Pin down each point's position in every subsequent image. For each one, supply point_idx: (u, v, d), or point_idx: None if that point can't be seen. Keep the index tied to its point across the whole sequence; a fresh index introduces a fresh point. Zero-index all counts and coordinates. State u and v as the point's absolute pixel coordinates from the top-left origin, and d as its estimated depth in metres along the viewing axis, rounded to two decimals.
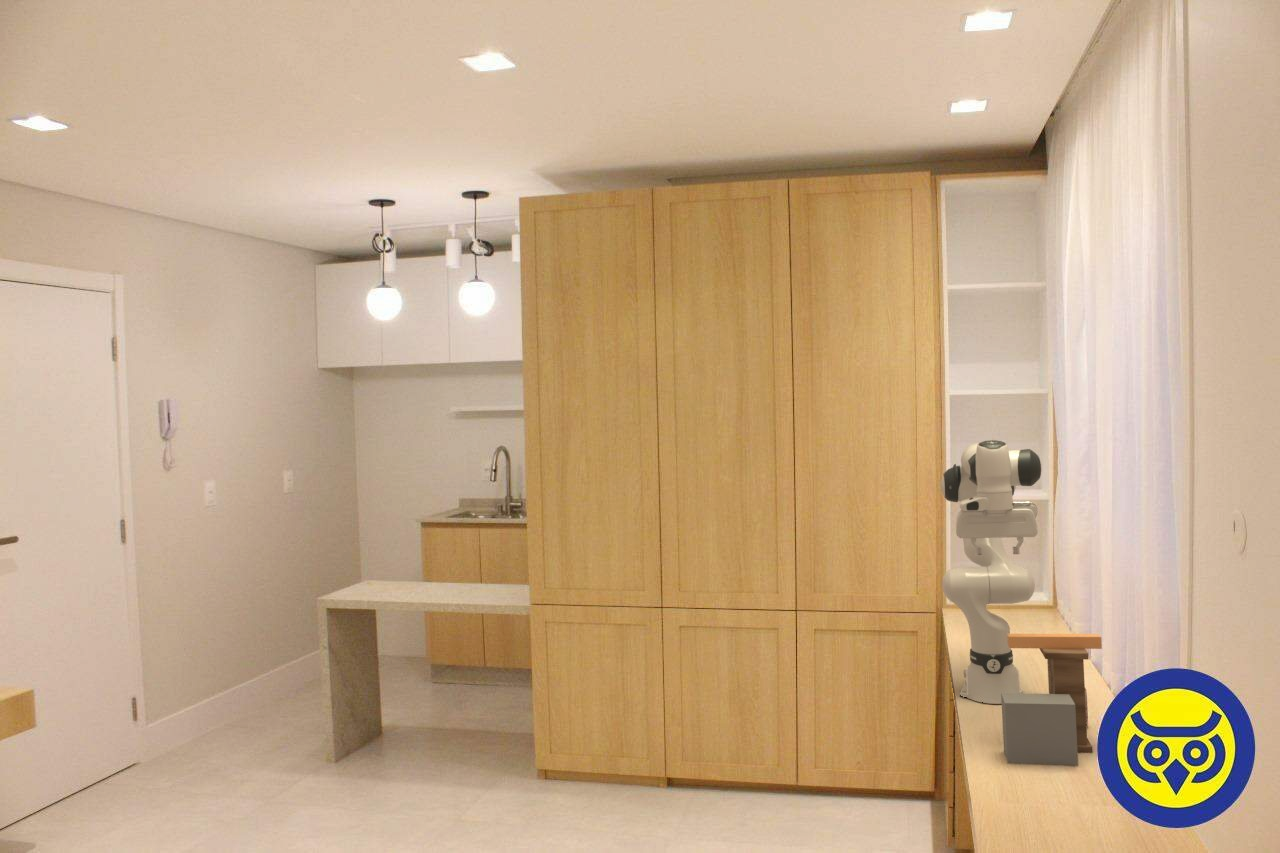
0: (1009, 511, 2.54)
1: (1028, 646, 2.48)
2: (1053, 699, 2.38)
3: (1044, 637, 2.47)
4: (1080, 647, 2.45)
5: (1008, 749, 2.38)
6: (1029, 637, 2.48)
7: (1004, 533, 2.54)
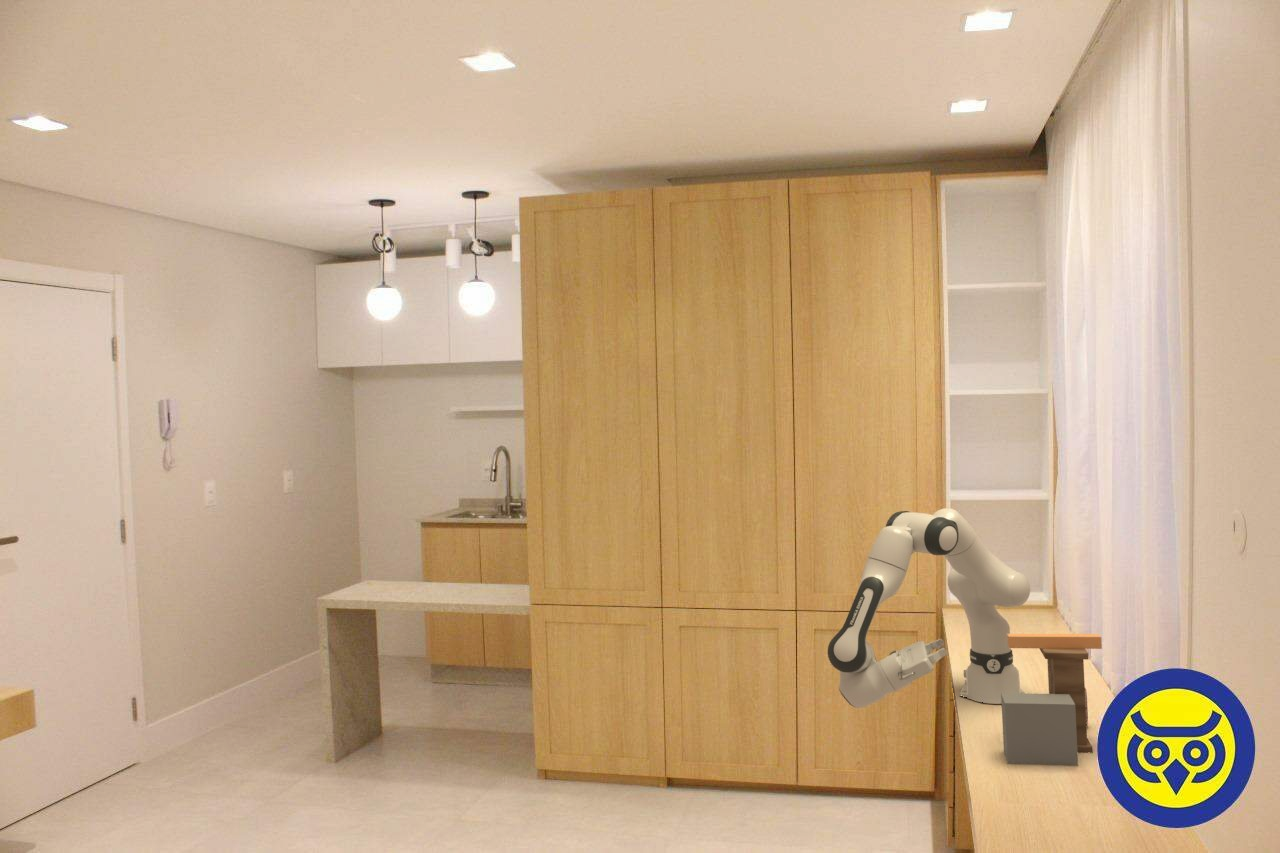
0: None
1: (1028, 646, 2.48)
2: (1053, 699, 2.38)
3: (1044, 637, 2.47)
4: (1080, 647, 2.45)
5: (1008, 749, 2.38)
6: (1029, 637, 2.48)
7: None
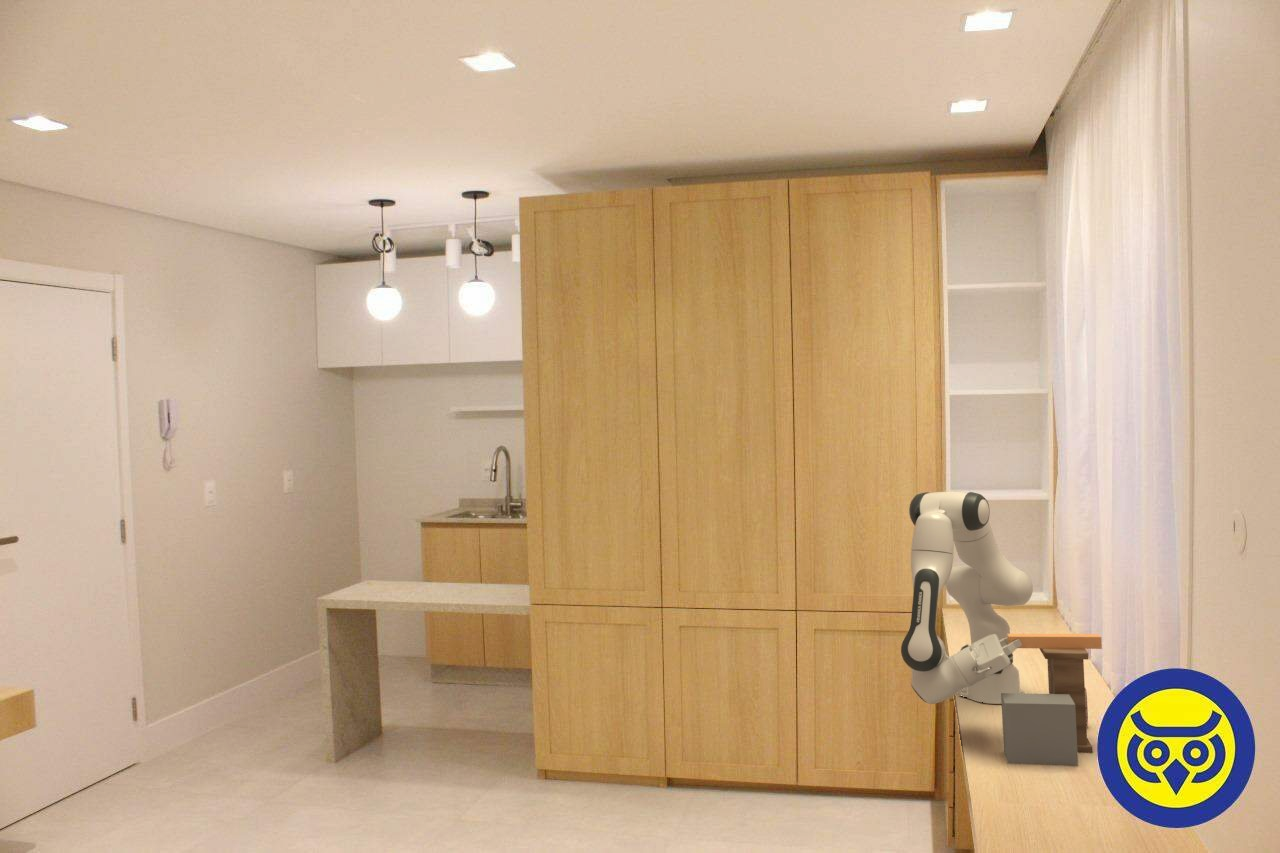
0: None
1: (1028, 646, 2.48)
2: (1053, 699, 2.38)
3: (1044, 637, 2.47)
4: (1080, 647, 2.45)
5: (1008, 749, 2.38)
6: (1029, 637, 2.48)
7: None
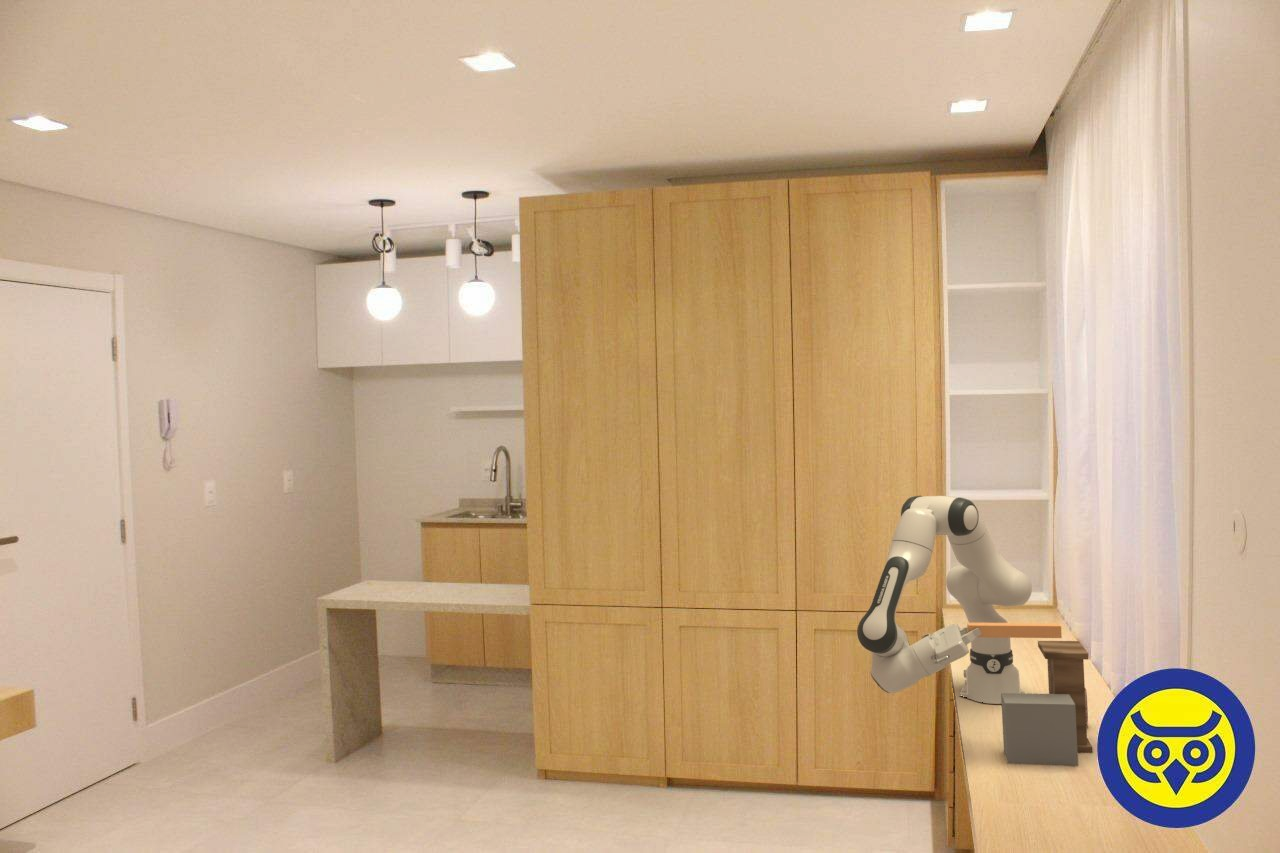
0: None
1: (988, 635, 2.45)
2: (1053, 699, 2.38)
3: (1004, 626, 2.44)
4: (1040, 636, 2.42)
5: (1008, 749, 2.38)
6: (989, 626, 2.45)
7: None
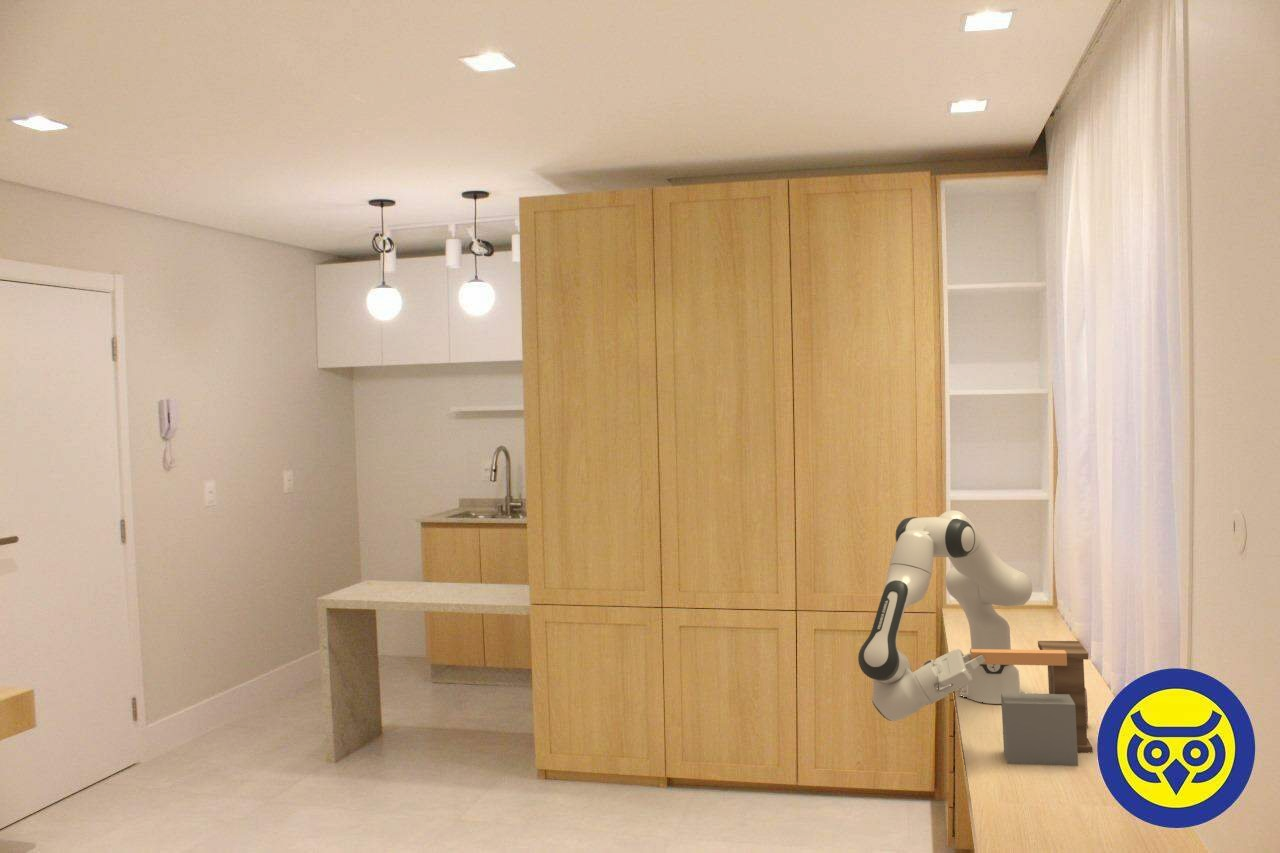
0: None
1: (991, 662, 2.40)
2: (1053, 699, 2.38)
3: (1008, 653, 2.39)
4: (1045, 664, 2.37)
5: (1008, 749, 2.38)
6: (992, 653, 2.40)
7: None
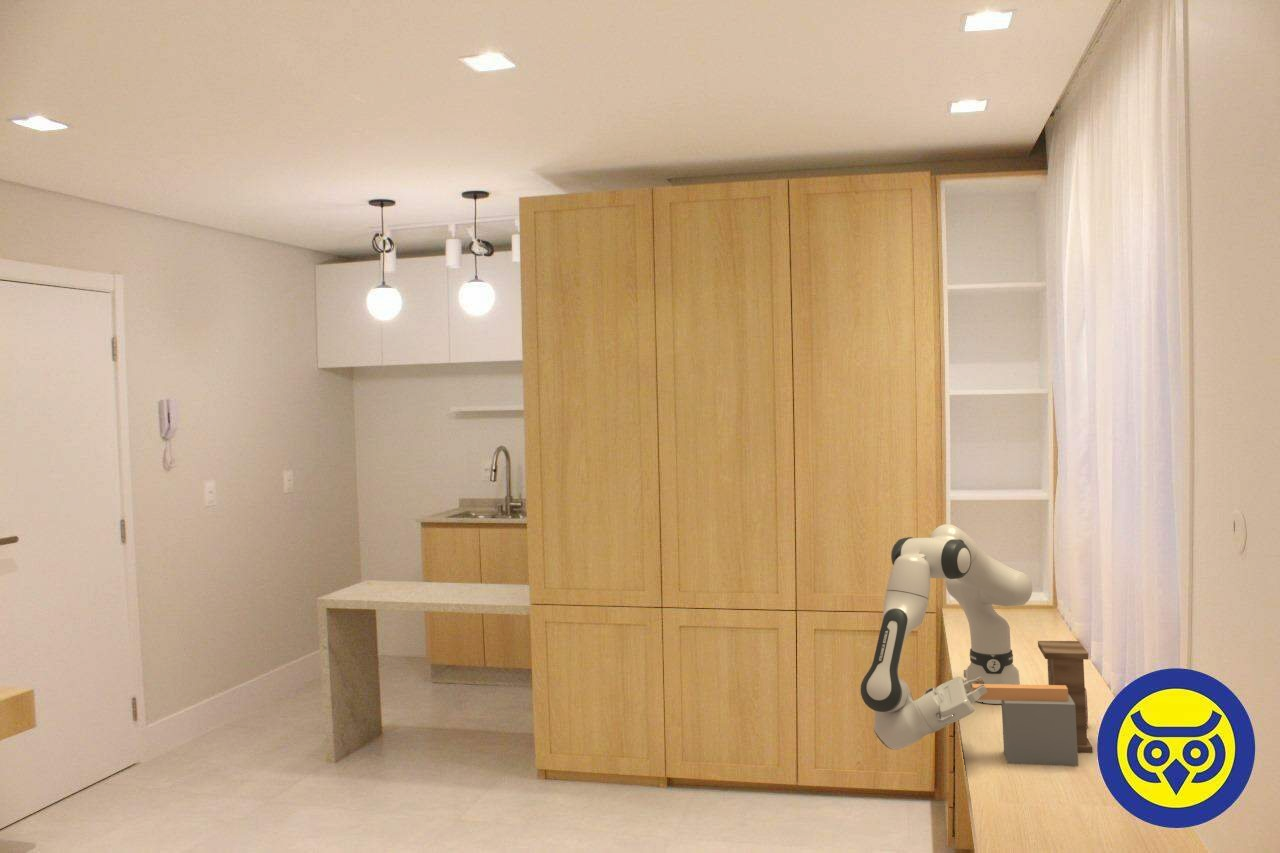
0: None
1: (993, 697, 2.40)
2: None
3: (1009, 688, 2.39)
4: (1046, 699, 2.37)
5: (1008, 749, 2.38)
6: (994, 688, 2.40)
7: None
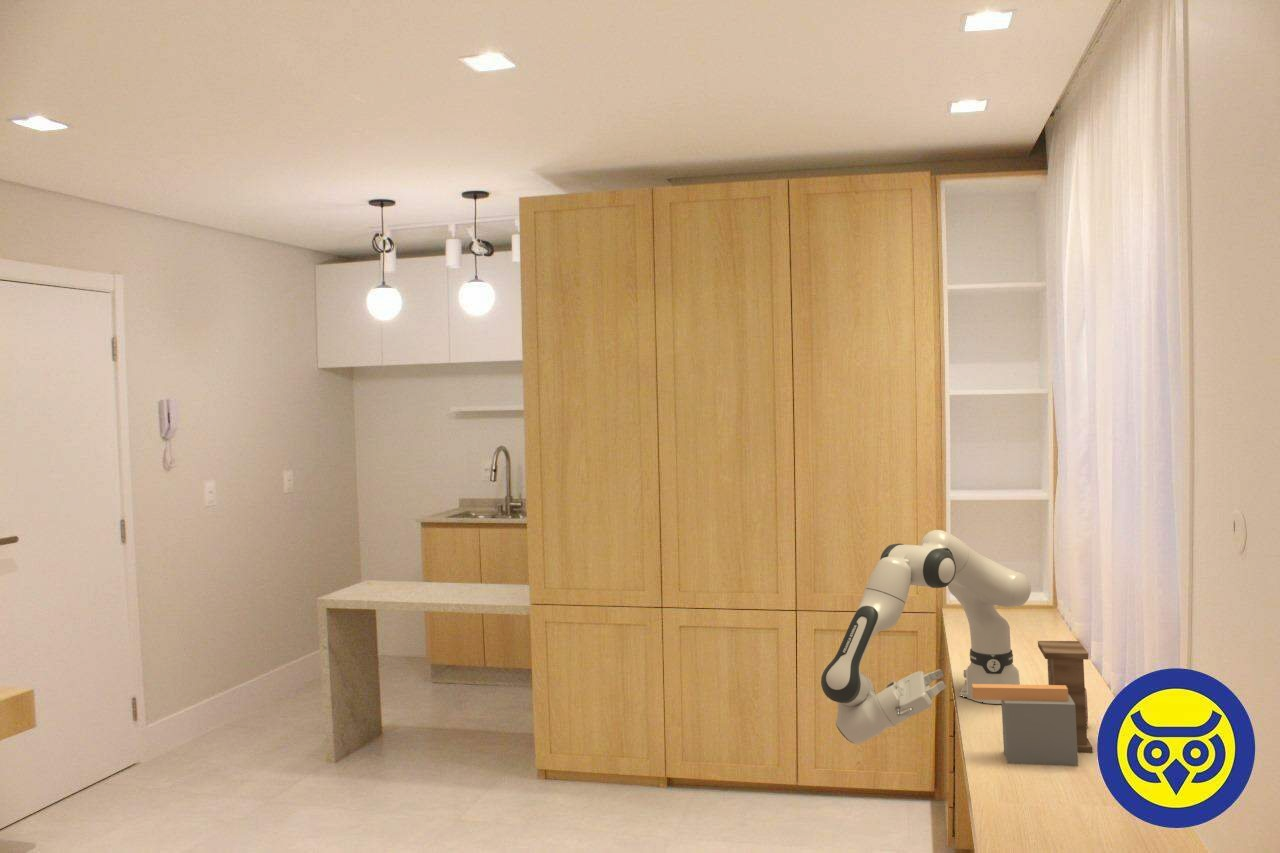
0: None
1: (993, 697, 2.40)
2: None
3: (1009, 688, 2.39)
4: (1046, 699, 2.37)
5: (1008, 749, 2.38)
6: (994, 688, 2.40)
7: None
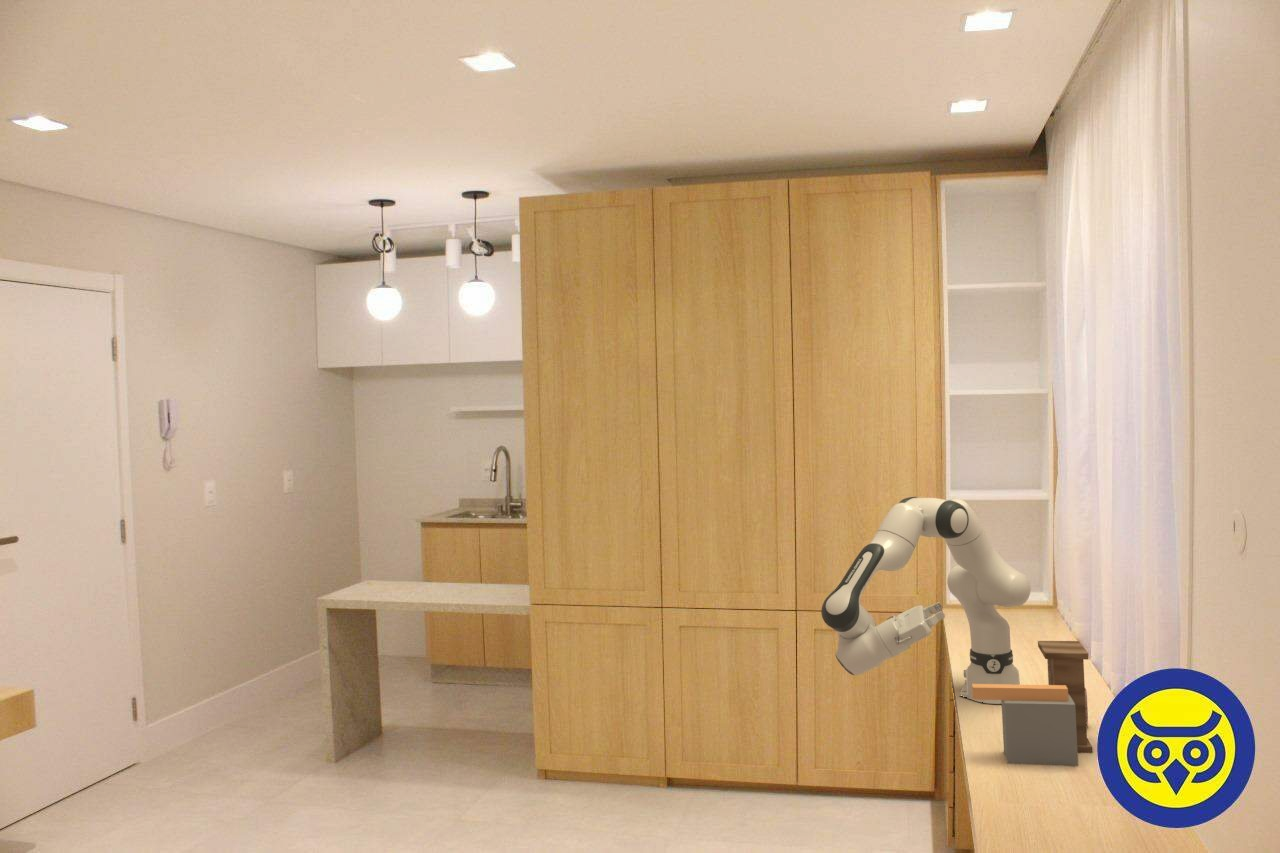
0: None
1: (993, 697, 2.40)
2: None
3: (1009, 688, 2.39)
4: (1046, 699, 2.37)
5: (1008, 749, 2.38)
6: (994, 688, 2.40)
7: None
